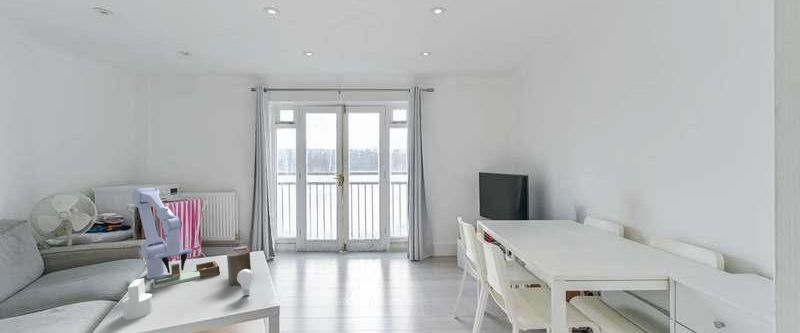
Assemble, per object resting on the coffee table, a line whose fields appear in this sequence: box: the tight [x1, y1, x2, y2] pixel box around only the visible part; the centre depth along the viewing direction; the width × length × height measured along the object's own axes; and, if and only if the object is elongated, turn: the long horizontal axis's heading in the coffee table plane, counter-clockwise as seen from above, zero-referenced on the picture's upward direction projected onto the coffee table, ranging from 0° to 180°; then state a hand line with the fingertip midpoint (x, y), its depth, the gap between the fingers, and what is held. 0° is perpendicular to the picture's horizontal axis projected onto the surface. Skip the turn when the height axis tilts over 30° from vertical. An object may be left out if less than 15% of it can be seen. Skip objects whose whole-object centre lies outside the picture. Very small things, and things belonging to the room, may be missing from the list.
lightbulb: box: [237, 269, 255, 297], centre depth 146 cm, size 6×6×11 cm
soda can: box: [233, 244, 250, 251], centre depth 174 cm, size 7×7×13 cm
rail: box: [153, 273, 179, 285], centre depth 165 cm, size 8×10×1 cm
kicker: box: [170, 262, 181, 278], centre depth 168 cm, size 5×3×6 cm, turn 38°
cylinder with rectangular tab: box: [121, 278, 154, 320], centre depth 133 cm, size 9×9×12 cm
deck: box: [152, 270, 200, 289], centre depth 168 cm, size 10×19×1 cm, turn 128°
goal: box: [195, 260, 220, 279], centre depth 176 cm, size 12×8×4 cm
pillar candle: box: [226, 249, 252, 286], centre depth 162 cm, size 10×10×15 cm
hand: (175, 271), depth 168 cm, fingers open, 5 cm apart
